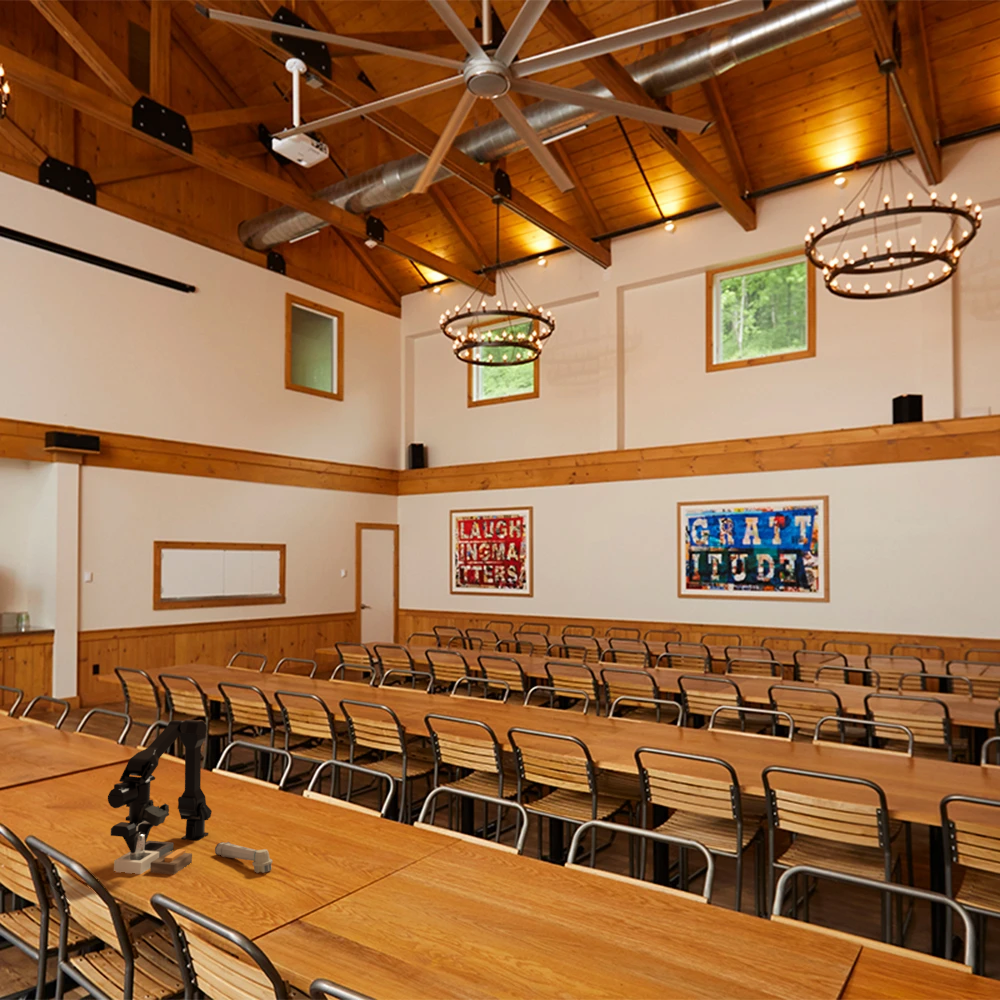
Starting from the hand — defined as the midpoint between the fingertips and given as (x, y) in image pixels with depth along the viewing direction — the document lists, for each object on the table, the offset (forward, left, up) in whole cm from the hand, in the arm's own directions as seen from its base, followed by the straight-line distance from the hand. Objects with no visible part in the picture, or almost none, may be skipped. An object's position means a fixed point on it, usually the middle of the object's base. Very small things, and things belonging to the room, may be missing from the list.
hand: (137, 850), depth 238 cm
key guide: (-2, +11, -5) cm, 12 cm away
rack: (0, 0, -5) cm, 5 cm away
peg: (0, 0, -3) cm, 3 cm away
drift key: (-4, +11, -5) cm, 12 cm away
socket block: (-10, -2, -5) cm, 12 cm away
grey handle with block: (-10, +30, -6) cm, 32 cm away
